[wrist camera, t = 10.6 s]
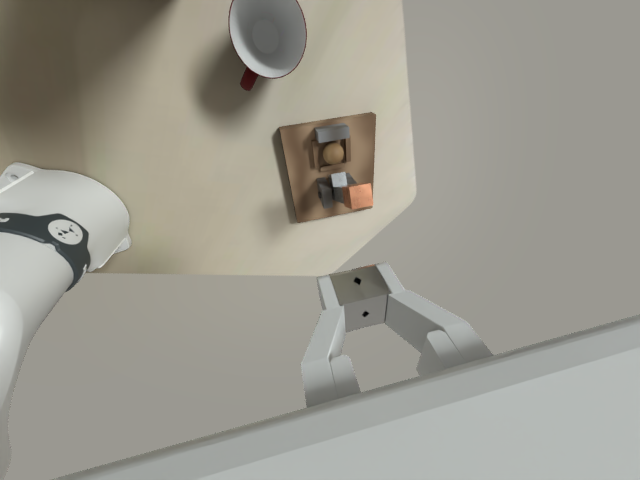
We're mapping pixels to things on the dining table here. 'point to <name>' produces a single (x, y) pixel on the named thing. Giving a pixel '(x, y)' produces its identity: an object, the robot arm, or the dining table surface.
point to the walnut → (333, 153)
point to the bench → (312, 170)
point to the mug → (267, 37)
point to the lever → (350, 192)
